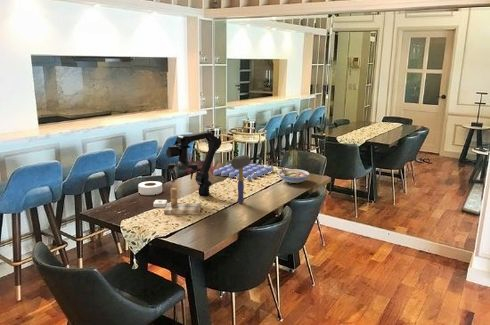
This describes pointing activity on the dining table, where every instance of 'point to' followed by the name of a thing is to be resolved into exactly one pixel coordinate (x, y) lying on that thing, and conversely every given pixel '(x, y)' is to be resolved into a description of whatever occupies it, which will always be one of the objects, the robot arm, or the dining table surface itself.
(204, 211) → the dining table surface
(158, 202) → the awl holder
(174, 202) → the awl
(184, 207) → the beige flat rectangular piece
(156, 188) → the roll of tape
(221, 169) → the purple egg tray
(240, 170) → the rubber mallet
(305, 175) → the ramen bowl
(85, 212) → the dining table surface
